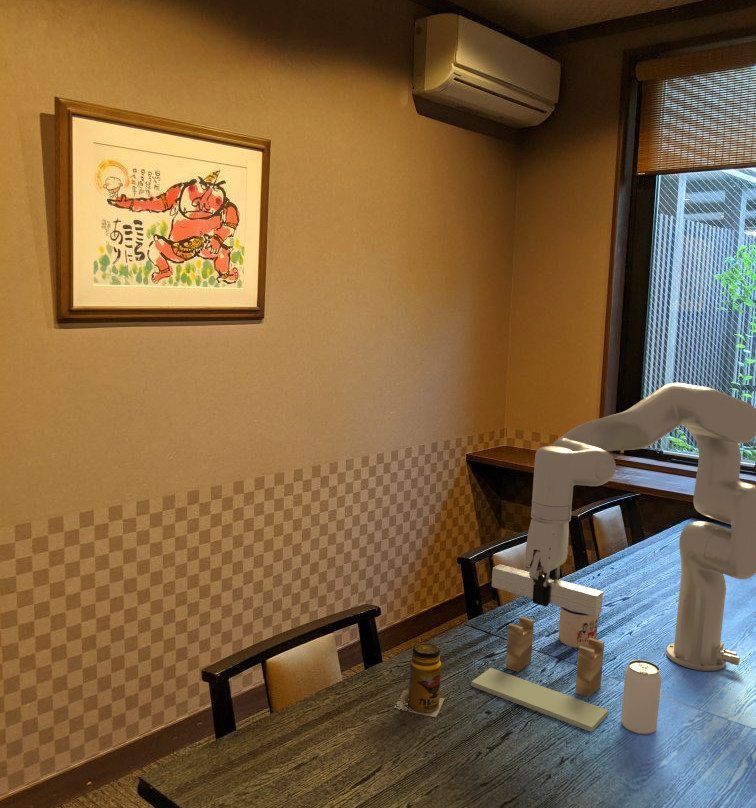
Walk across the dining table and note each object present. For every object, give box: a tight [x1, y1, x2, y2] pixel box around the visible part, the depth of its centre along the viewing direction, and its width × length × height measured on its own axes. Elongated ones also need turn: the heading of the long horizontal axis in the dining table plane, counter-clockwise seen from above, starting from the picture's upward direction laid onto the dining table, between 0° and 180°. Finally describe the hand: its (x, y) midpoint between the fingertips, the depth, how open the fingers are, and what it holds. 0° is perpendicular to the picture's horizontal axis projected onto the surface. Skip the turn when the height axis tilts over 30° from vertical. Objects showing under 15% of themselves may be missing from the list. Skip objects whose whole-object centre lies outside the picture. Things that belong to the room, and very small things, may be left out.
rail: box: [491, 563, 604, 616], centre depth 156 cm, size 22×3×4 cm, turn 53°
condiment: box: [393, 642, 446, 718], centre depth 155 cm, size 7×8×12 cm
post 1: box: [505, 616, 535, 673], centre depth 173 cm, size 3×6×10 cm, turn 143°
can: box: [620, 659, 662, 736], centre depth 150 cm, size 6×6×12 cm
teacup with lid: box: [558, 607, 601, 649], centre depth 187 cm, size 12×9×12 cm
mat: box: [470, 667, 609, 733], centre depth 159 cm, size 26×8×1 cm, turn 53°
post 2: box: [574, 638, 605, 698], centre depth 163 cm, size 3×6×10 cm, turn 143°
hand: (544, 600), depth 156 cm, fingers closed on rail, 3 cm apart
